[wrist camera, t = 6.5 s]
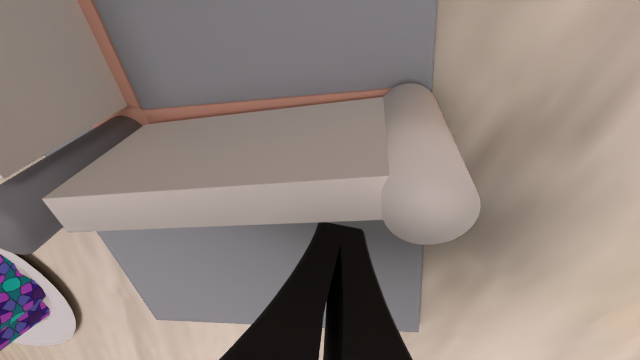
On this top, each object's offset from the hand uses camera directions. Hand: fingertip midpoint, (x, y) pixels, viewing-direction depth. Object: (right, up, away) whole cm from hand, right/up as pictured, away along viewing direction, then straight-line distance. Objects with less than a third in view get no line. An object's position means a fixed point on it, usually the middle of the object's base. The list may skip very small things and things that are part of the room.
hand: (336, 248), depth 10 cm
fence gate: (-2, +4, 0) cm, 4 cm away
